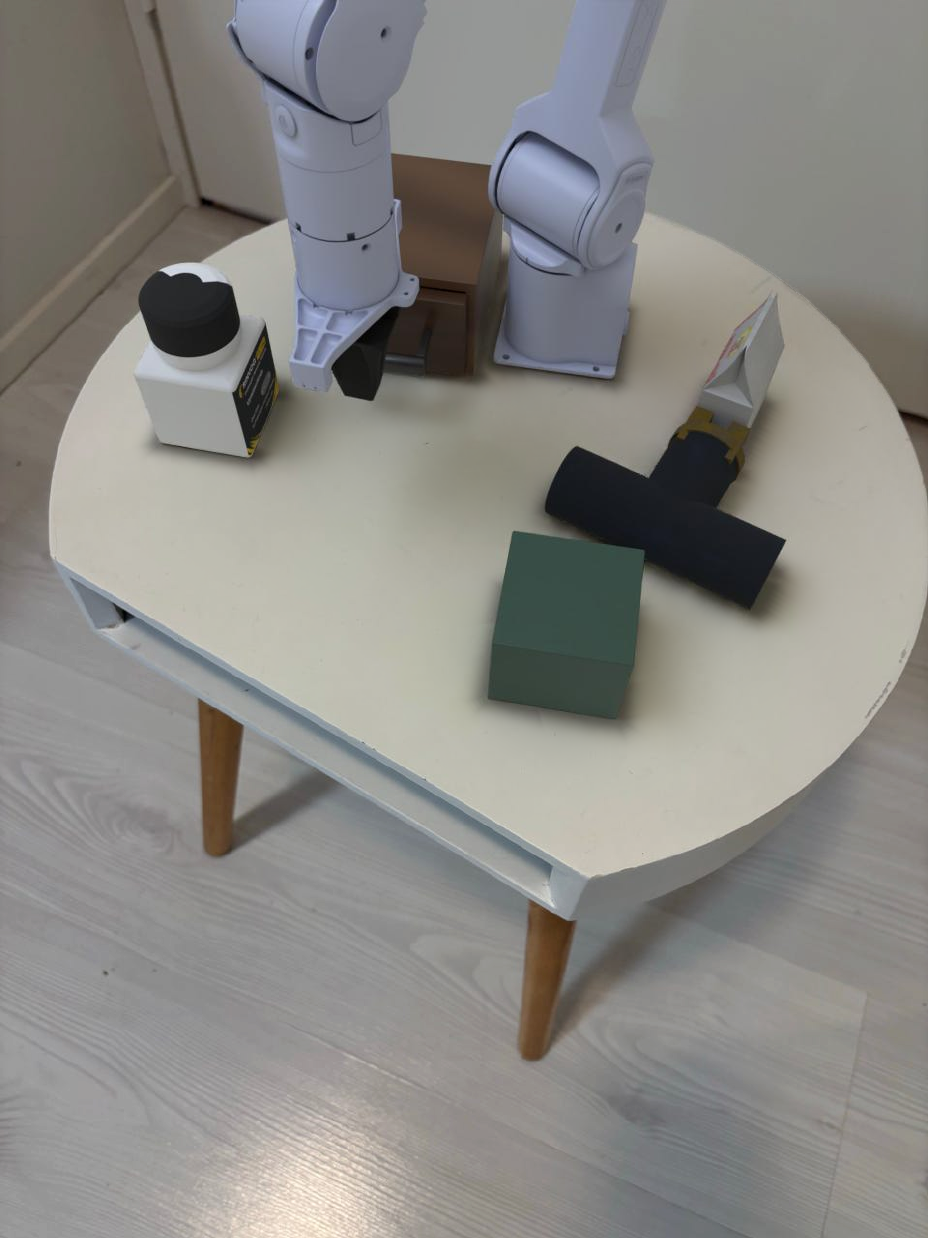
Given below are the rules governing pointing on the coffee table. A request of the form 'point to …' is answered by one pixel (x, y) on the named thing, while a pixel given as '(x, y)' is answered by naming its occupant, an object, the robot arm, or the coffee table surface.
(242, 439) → the medicine bottle
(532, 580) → the block
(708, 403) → the white juice carton
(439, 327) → the drawer
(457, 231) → the cabinet
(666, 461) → the pipe connector
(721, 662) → the coffee table surface
